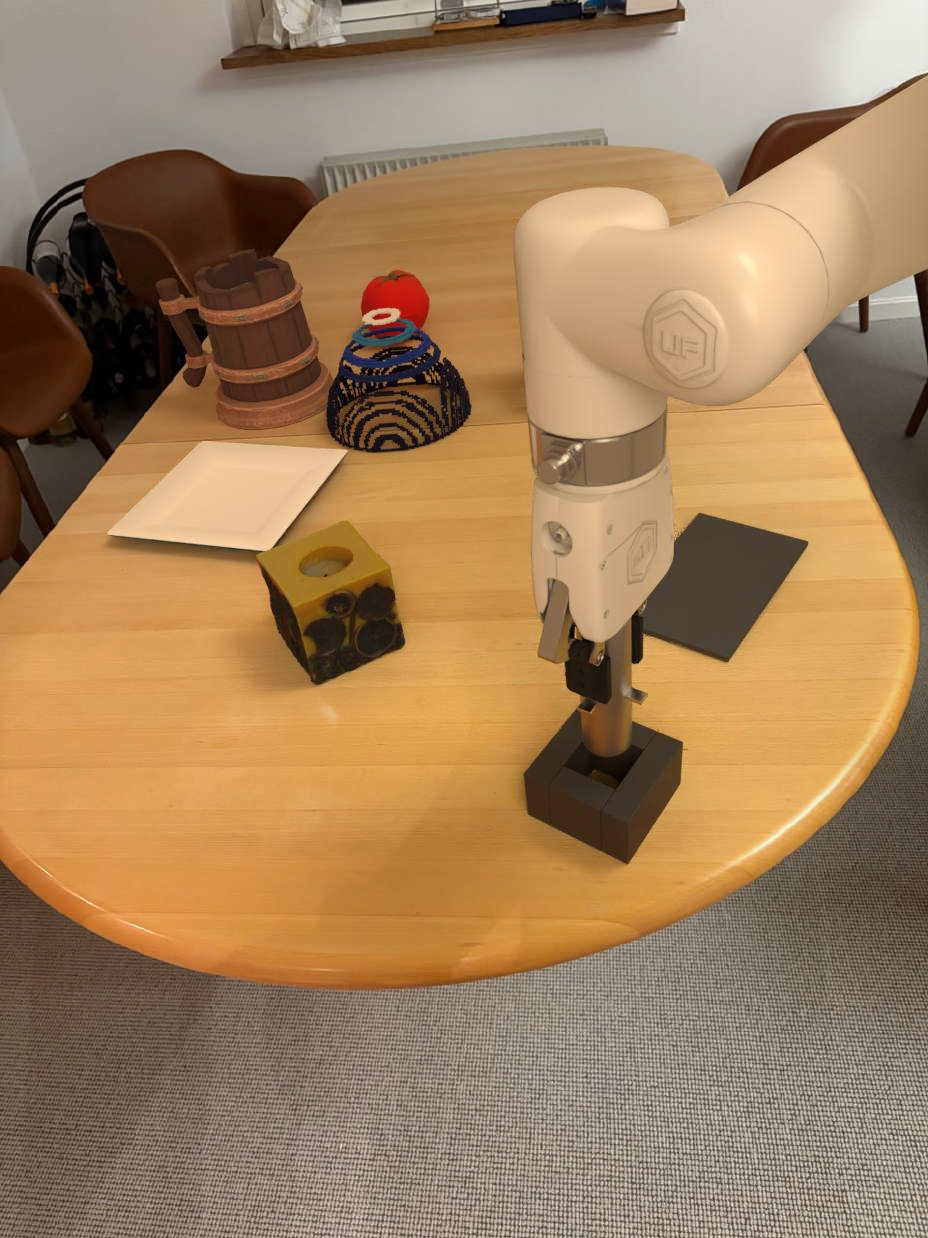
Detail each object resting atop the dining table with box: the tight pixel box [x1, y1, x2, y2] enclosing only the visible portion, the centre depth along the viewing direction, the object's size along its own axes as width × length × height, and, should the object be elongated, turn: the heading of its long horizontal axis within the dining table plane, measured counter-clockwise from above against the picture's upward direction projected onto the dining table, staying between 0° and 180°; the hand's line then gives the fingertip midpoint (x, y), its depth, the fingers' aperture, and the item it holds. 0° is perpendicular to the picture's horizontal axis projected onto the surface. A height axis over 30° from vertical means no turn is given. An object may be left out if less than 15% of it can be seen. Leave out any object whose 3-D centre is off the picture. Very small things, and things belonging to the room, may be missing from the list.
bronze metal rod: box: [564, 617, 649, 757], centre depth 61 cm, size 6×6×12 cm
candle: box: [255, 520, 406, 686], centre depth 85 cm, size 10×10×10 cm
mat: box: [637, 512, 809, 663], centre depth 88 cm, size 12×20×1 cm, turn 144°
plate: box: [106, 440, 349, 553], centre depth 110 cm, size 22×22×2 cm
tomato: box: [360, 269, 430, 338], centre depth 142 cm, size 11×13×10 cm
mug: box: [155, 248, 335, 430], centre depth 126 cm, size 18×23×20 cm
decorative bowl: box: [325, 308, 472, 454], centre depth 119 cm, size 20×20×14 cm
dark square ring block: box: [523, 703, 684, 865], centre depth 68 cm, size 9×9×5 cm
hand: (605, 673), depth 60 cm, fingers closed on bronze metal rod, 3 cm apart
